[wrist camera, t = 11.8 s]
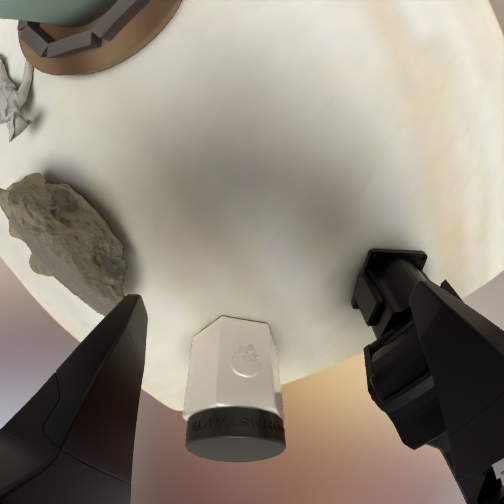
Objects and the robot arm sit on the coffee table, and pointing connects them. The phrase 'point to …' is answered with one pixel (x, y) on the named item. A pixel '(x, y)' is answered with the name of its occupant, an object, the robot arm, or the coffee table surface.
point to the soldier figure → (14, 100)
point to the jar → (234, 393)
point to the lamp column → (55, 11)
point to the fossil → (66, 240)
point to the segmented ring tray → (95, 38)
